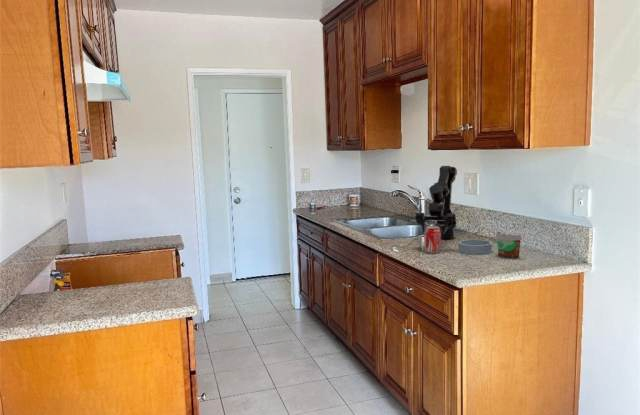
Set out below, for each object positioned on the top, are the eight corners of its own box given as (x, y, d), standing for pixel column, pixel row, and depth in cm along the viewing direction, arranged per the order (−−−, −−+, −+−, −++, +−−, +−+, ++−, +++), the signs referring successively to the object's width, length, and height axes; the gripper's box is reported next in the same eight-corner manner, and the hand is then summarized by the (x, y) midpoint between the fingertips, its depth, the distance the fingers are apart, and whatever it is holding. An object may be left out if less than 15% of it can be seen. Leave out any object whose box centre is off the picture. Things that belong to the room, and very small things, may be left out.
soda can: (425, 250, 233) (424, 225, 232) (440, 250, 232) (440, 225, 231) (425, 253, 226) (425, 228, 225) (441, 253, 225) (441, 227, 224)
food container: (489, 255, 218) (489, 232, 217) (499, 253, 221) (499, 231, 220) (511, 260, 207) (511, 236, 206) (521, 258, 210) (521, 235, 209)
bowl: (452, 251, 230) (452, 242, 229) (472, 246, 237) (472, 238, 237) (477, 255, 217) (477, 247, 217) (498, 250, 225) (498, 242, 225)
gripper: (415, 196, 236) (410, 222, 227) (455, 196, 228) (451, 223, 219) (419, 210, 244) (414, 236, 235) (458, 210, 236) (454, 237, 227)
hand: (433, 232), depth 229 cm, fingers open, 9 cm apart
